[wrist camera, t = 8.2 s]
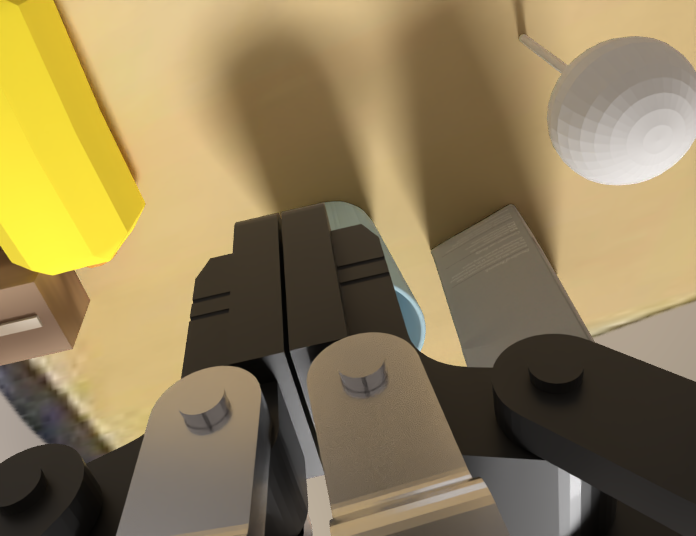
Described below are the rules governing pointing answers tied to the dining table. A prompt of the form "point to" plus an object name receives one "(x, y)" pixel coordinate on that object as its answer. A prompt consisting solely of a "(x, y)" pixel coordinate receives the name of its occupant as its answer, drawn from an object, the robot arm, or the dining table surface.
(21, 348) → the walnut numbered block
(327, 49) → the dining table surface
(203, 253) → the dining table surface
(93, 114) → the yellow banana
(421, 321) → the cup
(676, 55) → the lollipop
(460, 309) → the skincare box
